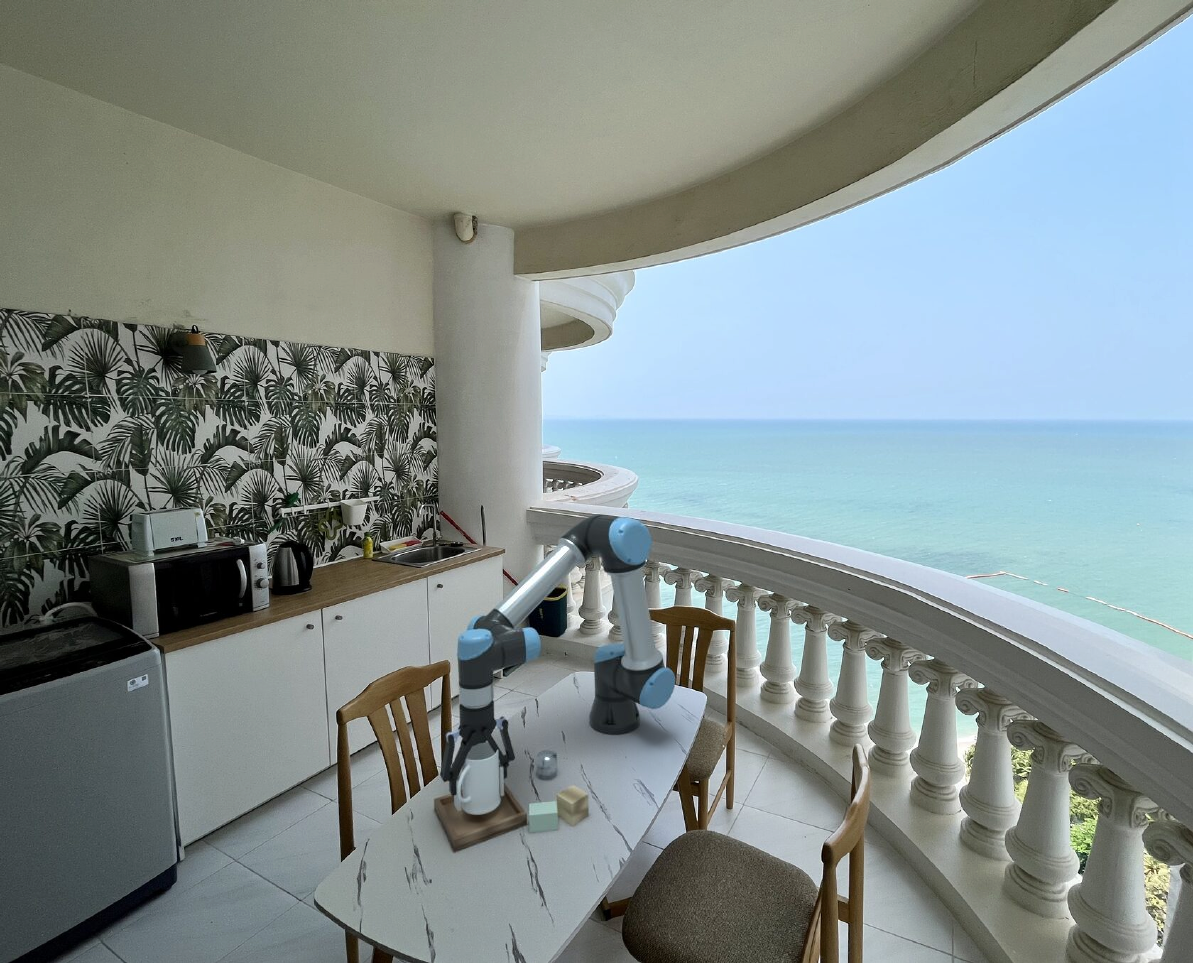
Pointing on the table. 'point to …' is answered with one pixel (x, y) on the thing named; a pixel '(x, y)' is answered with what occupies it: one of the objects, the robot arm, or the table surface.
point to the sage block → (543, 816)
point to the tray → (478, 820)
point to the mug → (480, 780)
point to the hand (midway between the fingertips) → (479, 799)
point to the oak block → (572, 805)
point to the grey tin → (546, 765)
